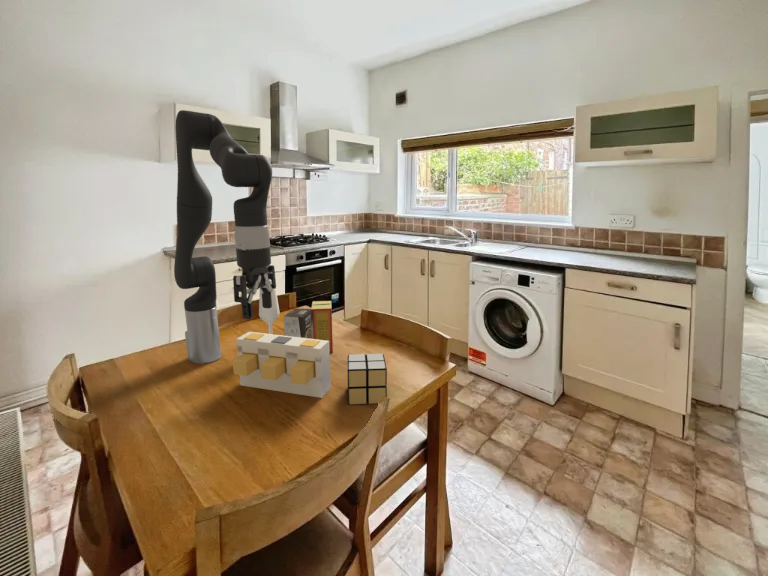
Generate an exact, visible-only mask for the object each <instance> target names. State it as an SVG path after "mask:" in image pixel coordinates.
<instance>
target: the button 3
mask: <svg viewBox="0 0 768 576" xmlns="http://www.w3.org/2000/svg"><path fill="white" fill-rule="evenodd" d="M290 372H291V383H296V384H302V385H306V384H307V383H308V382H309V381H310V380H311V379H312V378H313V377H314V376H315V361H307V360H300V361H298V362H297V363H296V364H295V365H294V366H293V367H291V368H290Z"/></svg>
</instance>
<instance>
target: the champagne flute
mask: <svg viewBox="0 0 768 576" xmlns="http://www.w3.org/2000/svg"><path fill="white" fill-rule="evenodd" d="M270 282H271V284H272V281H271V280H270ZM262 293H263V292H262V291H261V290H260V289H259V294H258V295H259V296H258V297H259V298H258V299H259V301H258V305H259V306H258V316H259V317H260V319H261V321H264V322H265V323H266V324H268V325H267V326H268V334H273V323H274V322H276V320H277V319H278V318H279V317H280V307H279V300H278V294H277V287H276V288H275V289H273V292H272V293H271V299H272V307H271V308H263V305H262Z"/></svg>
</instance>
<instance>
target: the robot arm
mask: <svg viewBox="0 0 768 576" xmlns="http://www.w3.org/2000/svg"><path fill="white" fill-rule="evenodd" d="M174 125H175V128H174V129H175V145H176V146H175V147H176V159H177V160H176V161H177V182H176V183H177V184H176V185H177V187H176V188H177V189H176V190H177V191H176V246H175V247H176V248H175V254H174V266H173V267H174V268H173V270H174V271H173V272H174V273H173V275H174V280H175V284H176V285H177V287H178V288H179V289H182V290H189V289H194V288H195V289H196V288H198V289H197V291H196V292H194V293H193V294H191V295H190V296H189V297H187V298H185V300H183V308H184V314H185V315H184V316H185V324H186V331H185V332H184V336H185V345H186V355H187V360H188V361H191V362H192V363H193V364H209V363H212V362H215V361H217V360H219V359H220V358H221V357H222V349H221V340H220V331H219V330H220V329H219V321H218V310H217V299H218V298H217V296H218V295H217V279H216V278H217V276H216V268H215V265H214V262H213V260H212V258H211V257H209V256H196V257H193V255H194V250H195V247H196V246H197V243H198V242H199V240H200V239H201V237H202V236H203V235H204V233H205V232H206V231H207V229H208V227H209V226H210V223H211V221H212V217H213V196H212V193H211V190H210V189H209V188H208V186H207V185H206V183H205V182H204V181H205V180H203V178H202V176H201V175H200V174H199V172H198V169H197V167H196V165H195V162H194V158H193V150H194V149H195V150H204V151H205V150H206V151H209V155H210V157H211V159H212V160H213V162H215V164H216V165H218V167H220V170H221V175H222V179H223V181H224V182H225V183H226V184H227V185H228V186H230V187H234V188H253V189H252V192H251V193H250V195H249V196H247V197H243V198H238V199H236V200H235V201H234V202H233V215H234V216H233V217H234V241H235V242H234V244H235V253H236V265H237V267H239V268H241V269H242V273H241V274H240V275H233V277H232V279H233V280H232V282H233V299H234V300H233V301H234V302H235V303H240V304H241V311H242V313H241V314H242V317H243V319H245V320H252V319H253V318H254V311H253V309H254V307H253V299H254V295H256V294H257V291H260V290H261V291H262V292H263V293H262V305H263V308H271V307H272V299H271V293H272V292H273V289H275V288H276V289H277V283H276V271H275V269H276V268H275V265H271V264H272V257H271V256H272V255H271V242H270V232H269V228H268V213H267V203H268V198H269V192H270V187H271V183H272V178H273V167H272V164H271V162H270V160H269V159H268V157H267V156H265V155H263V154H255V153H253V154H252V153H249V152H248V151H247V150H246V149H245V148H244V146H242V145H241V144H240V143H238V142H237V141H236V140H234V138H233V137H232V136H231V134H230V132H229V131H228V129H227V128H226V127H225V125H224V123H223V122H222V121H221V120H220V119H219V118H218V117H217V116H216V115H214V114H211V113H205V112H198V111H193V110H185V109H182V110H181V109H180V110H179V111H178V112H177V115H176V118H175V124H174ZM270 281H272V284H271V282H270Z"/></svg>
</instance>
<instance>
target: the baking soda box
mask: <svg viewBox="0 0 768 576" xmlns="http://www.w3.org/2000/svg"><path fill="white" fill-rule="evenodd" d="M332 308H333V307H332V300H316V301H315V300H313V301H312V303H311V309H312V313H313V338H314V339H318V340H326V341H329V351H330V354H333V353H334V348H333V347H334V345H333V344H334V343H333V316H332V315H333V313H332V312H333V311H332Z"/></svg>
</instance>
